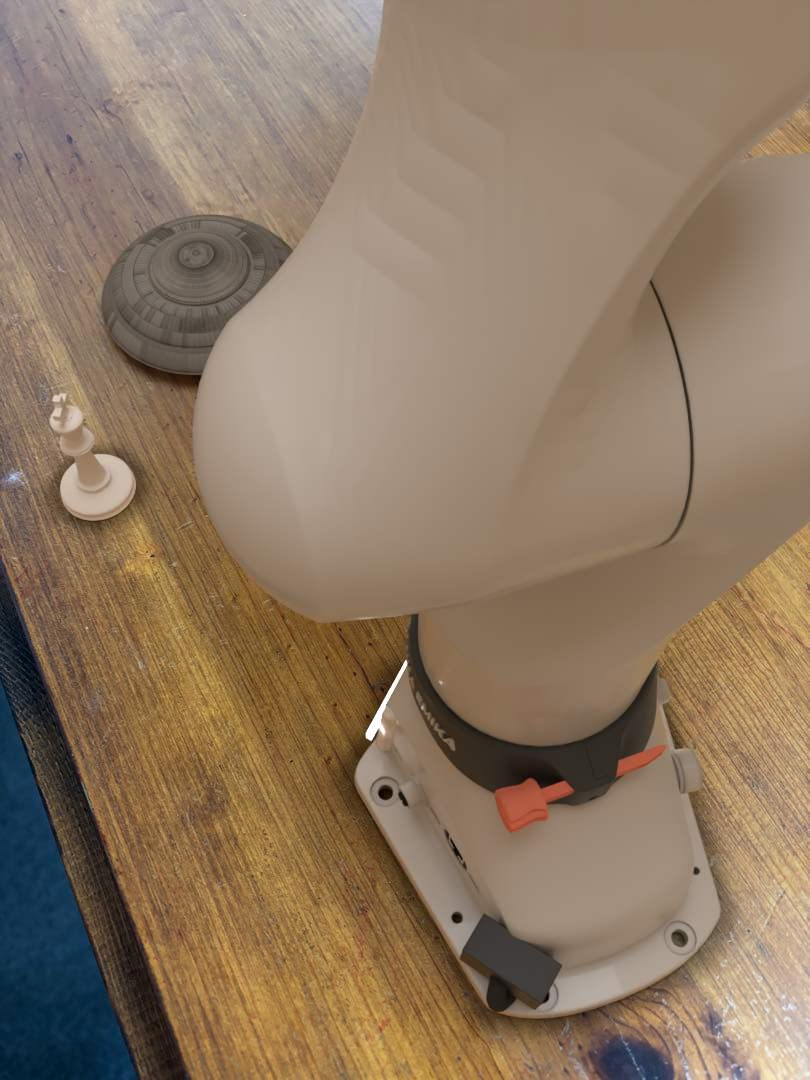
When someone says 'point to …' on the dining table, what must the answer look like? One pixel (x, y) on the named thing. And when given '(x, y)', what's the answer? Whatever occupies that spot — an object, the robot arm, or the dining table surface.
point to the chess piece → (89, 469)
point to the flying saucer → (187, 287)
